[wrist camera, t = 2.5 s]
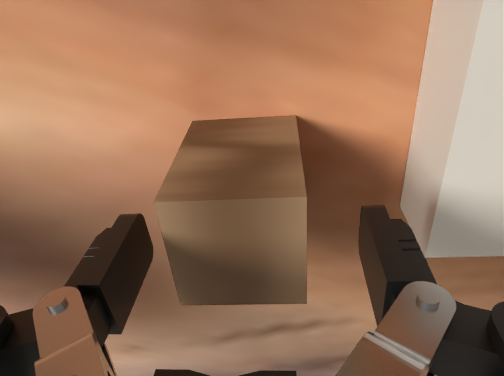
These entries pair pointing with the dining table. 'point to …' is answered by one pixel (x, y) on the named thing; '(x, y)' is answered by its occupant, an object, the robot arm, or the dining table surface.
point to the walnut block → (237, 213)
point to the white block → (459, 134)
